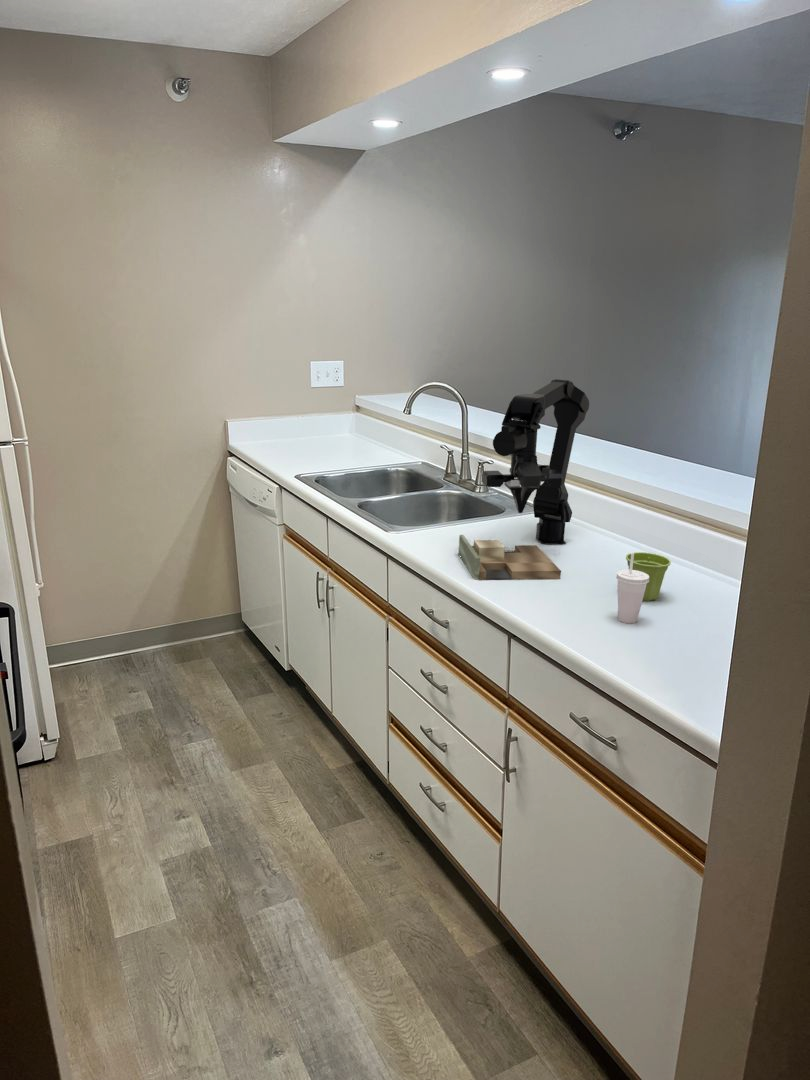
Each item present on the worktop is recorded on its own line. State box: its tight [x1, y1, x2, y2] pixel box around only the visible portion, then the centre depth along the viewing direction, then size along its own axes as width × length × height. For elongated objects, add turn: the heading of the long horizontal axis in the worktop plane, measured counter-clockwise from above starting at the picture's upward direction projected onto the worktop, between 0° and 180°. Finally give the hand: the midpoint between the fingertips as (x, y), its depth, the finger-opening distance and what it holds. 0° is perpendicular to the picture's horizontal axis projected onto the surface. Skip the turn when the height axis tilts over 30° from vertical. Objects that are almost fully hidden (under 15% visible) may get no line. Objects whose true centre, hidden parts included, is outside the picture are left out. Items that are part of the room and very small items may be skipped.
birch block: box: [473, 539, 505, 562], centre depth 193 cm, size 6×6×4 cm
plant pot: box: [625, 551, 672, 602], centre depth 175 cm, size 9×9×9 cm
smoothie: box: [615, 552, 649, 624], centre depth 161 cm, size 6×6×14 cm
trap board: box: [458, 534, 562, 581], centre depth 193 cm, size 20×20×5 cm
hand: (519, 512), depth 197 cm, fingers closed
